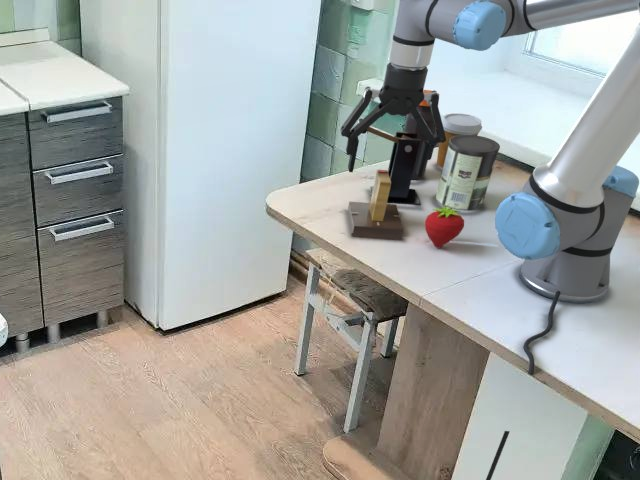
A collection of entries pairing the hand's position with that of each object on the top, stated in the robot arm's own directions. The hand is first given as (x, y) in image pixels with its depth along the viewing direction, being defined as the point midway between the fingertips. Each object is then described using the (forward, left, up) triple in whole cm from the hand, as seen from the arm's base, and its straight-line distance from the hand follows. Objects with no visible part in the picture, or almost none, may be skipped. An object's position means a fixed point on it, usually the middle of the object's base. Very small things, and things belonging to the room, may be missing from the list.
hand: (384, 172), depth 163 cm
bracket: (+14, -6, -12) cm, 19 cm away
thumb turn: (0, 0, -9) cm, 9 cm away
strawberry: (-8, -12, -12) cm, 19 cm away
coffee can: (+14, -20, -12) cm, 27 cm away
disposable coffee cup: (+35, -22, -12) cm, 43 cm away
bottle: (+27, -11, -12) cm, 32 cm away
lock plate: (0, 0, -12) cm, 12 cm away
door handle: (+14, -1, +2) cm, 14 cm away
